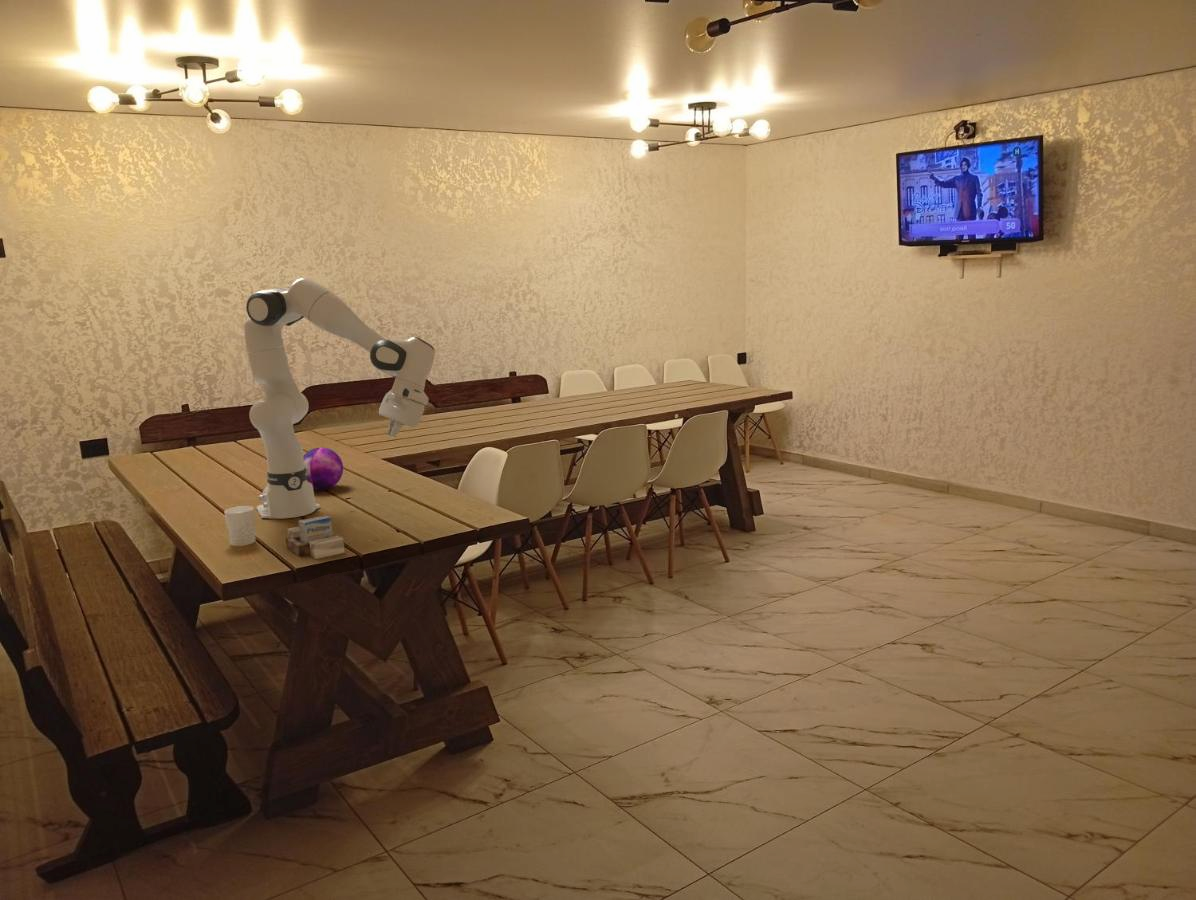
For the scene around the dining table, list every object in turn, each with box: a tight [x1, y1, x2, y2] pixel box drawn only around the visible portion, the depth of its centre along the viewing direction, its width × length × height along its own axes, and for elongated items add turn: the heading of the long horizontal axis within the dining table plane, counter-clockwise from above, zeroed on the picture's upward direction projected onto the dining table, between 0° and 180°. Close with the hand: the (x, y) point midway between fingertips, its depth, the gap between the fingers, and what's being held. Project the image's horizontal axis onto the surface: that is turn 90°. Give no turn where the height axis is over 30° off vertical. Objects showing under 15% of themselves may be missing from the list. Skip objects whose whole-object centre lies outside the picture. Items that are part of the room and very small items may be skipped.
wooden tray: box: [285, 526, 345, 560], centre depth 252 cm, size 21×12×4 cm, turn 38°
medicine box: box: [297, 514, 334, 544], centre depth 251 cm, size 8×4×9 cm, turn 128°
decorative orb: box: [303, 447, 344, 491], centre depth 320 cm, size 15×15×15 cm
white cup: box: [224, 505, 256, 547], centre depth 259 cm, size 8×8×10 cm
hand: (391, 435), depth 267 cm, fingers closed
